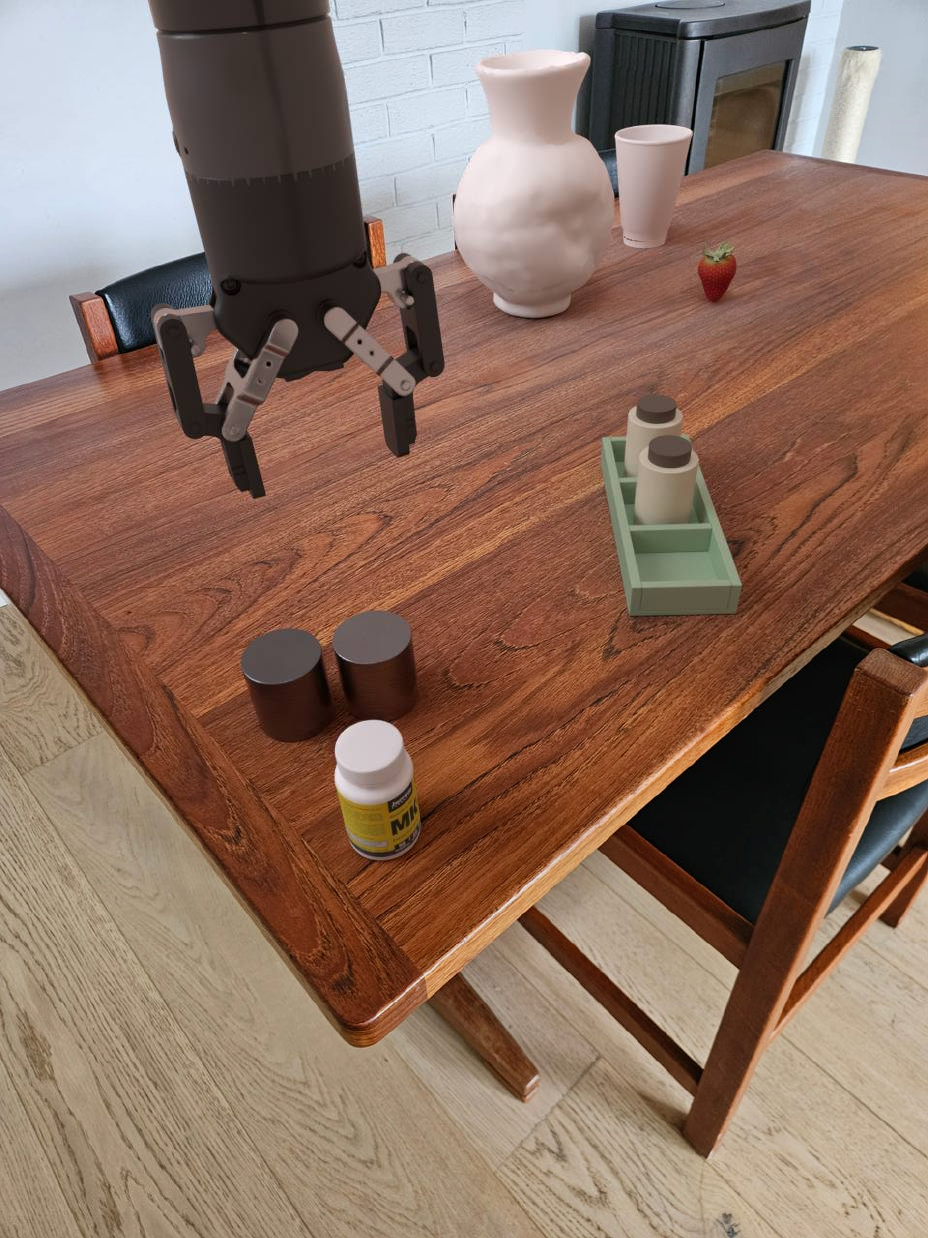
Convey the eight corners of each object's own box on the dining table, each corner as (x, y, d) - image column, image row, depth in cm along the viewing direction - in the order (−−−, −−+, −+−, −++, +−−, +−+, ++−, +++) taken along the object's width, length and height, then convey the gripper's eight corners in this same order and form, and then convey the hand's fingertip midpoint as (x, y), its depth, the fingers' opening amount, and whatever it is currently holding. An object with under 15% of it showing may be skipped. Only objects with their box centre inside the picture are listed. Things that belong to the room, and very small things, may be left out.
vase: (433, 310, 119) (413, 63, 99) (538, 271, 129) (539, 39, 109) (522, 346, 108) (521, 76, 88) (630, 300, 118) (650, 48, 98)
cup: (684, 252, 132) (697, 139, 122) (609, 253, 134) (616, 142, 123) (677, 229, 141) (689, 122, 131) (607, 231, 142) (613, 125, 132)
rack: (684, 460, 85) (688, 433, 83) (736, 613, 67) (742, 585, 65) (600, 462, 85) (601, 436, 83) (629, 616, 67) (632, 587, 65)
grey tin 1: (348, 697, 62) (336, 639, 58) (308, 751, 58) (292, 692, 54) (286, 678, 64) (270, 620, 60) (243, 729, 60) (223, 671, 56)
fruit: (685, 301, 117) (693, 242, 111) (709, 290, 119) (717, 232, 114) (715, 310, 114) (724, 249, 108) (739, 299, 116) (749, 240, 111)
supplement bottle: (406, 871, 50) (390, 786, 45) (336, 852, 52) (313, 768, 46) (432, 808, 54) (421, 722, 48) (366, 792, 55) (347, 707, 50)
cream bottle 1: (679, 471, 82) (690, 394, 77) (667, 497, 79) (677, 419, 73) (630, 462, 84) (637, 387, 78) (616, 487, 81) (622, 411, 75)
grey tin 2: (431, 679, 63) (424, 620, 59) (397, 731, 59) (387, 672, 55) (367, 661, 65) (357, 602, 61) (330, 710, 61) (316, 651, 57)
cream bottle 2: (693, 515, 76) (706, 436, 71) (681, 545, 73) (693, 464, 68) (641, 505, 78) (649, 427, 73) (626, 534, 75) (633, 454, 69)
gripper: (114, 194, 31) (221, 541, 42) (450, 137, 36) (470, 465, 46) (90, 159, 37) (190, 475, 47) (386, 113, 41) (417, 413, 51)
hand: (329, 470), depth 47 cm, fingers open, 8 cm apart
